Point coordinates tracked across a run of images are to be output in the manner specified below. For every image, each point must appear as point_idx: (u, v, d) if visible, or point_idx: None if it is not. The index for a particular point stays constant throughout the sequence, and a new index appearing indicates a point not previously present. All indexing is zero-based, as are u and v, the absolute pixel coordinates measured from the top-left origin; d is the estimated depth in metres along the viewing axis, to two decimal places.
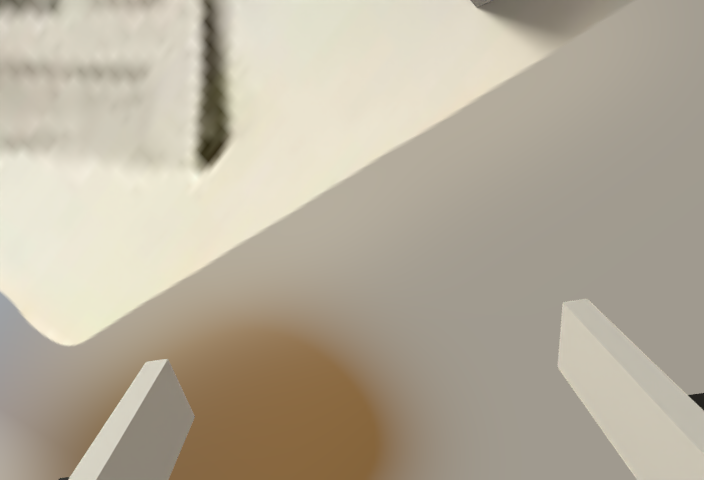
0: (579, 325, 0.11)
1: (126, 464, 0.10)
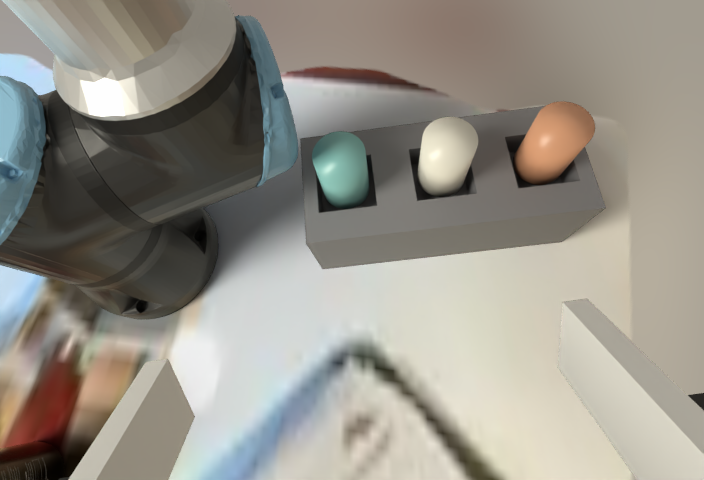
0: (578, 325, 0.11)
1: (126, 464, 0.10)
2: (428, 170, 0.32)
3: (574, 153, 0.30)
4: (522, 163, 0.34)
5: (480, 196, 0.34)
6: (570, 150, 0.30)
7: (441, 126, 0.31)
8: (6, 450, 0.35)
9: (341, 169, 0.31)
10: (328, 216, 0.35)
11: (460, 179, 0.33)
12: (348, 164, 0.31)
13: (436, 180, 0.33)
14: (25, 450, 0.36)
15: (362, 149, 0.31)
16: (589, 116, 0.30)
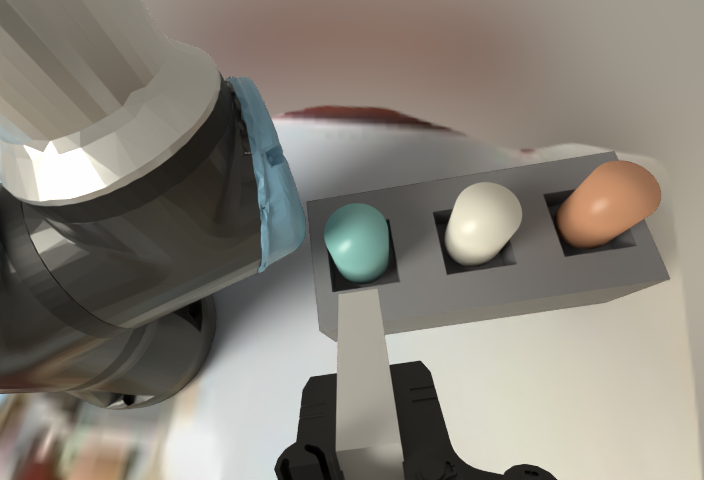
0: (359, 309, 0.14)
1: None
2: (461, 244, 0.27)
3: (636, 222, 0.26)
4: (568, 227, 0.29)
5: (521, 267, 0.29)
6: (634, 221, 0.25)
7: (476, 194, 0.26)
8: None
9: (360, 251, 0.26)
10: None
11: (498, 251, 0.28)
12: (368, 244, 0.26)
13: (470, 254, 0.28)
14: None
15: (384, 225, 0.26)
16: (652, 178, 0.26)
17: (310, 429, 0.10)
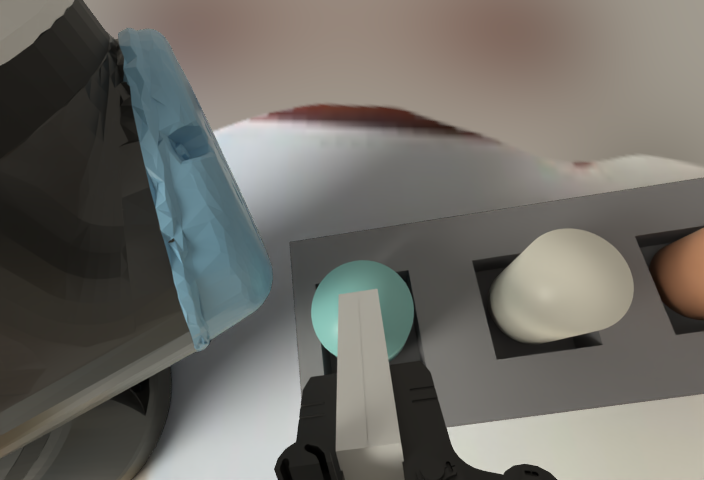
0: (359, 310, 0.14)
1: None
2: (527, 323, 0.18)
3: None
4: (682, 290, 0.19)
5: (609, 351, 0.20)
6: None
7: (555, 249, 0.16)
8: None
9: None
10: None
11: None
12: None
13: (538, 335, 0.18)
14: None
15: (407, 298, 0.16)
16: None
17: (310, 429, 0.10)
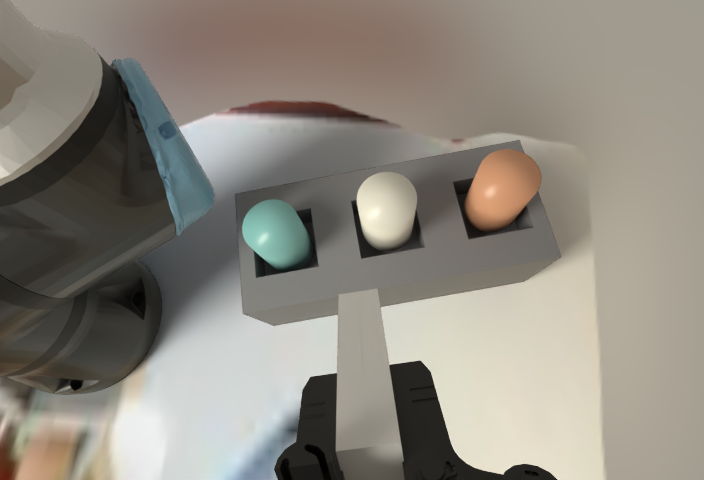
0: (359, 310, 0.14)
1: None
2: (368, 229, 0.30)
3: (521, 205, 0.28)
4: (471, 212, 0.32)
5: (428, 250, 0.32)
6: (516, 204, 0.27)
7: (377, 183, 0.29)
8: None
9: (273, 242, 0.29)
10: (266, 281, 0.32)
11: (404, 235, 0.31)
12: (280, 236, 0.29)
13: (378, 238, 0.30)
14: None
15: (295, 218, 0.29)
16: (535, 165, 0.28)
17: (310, 429, 0.10)
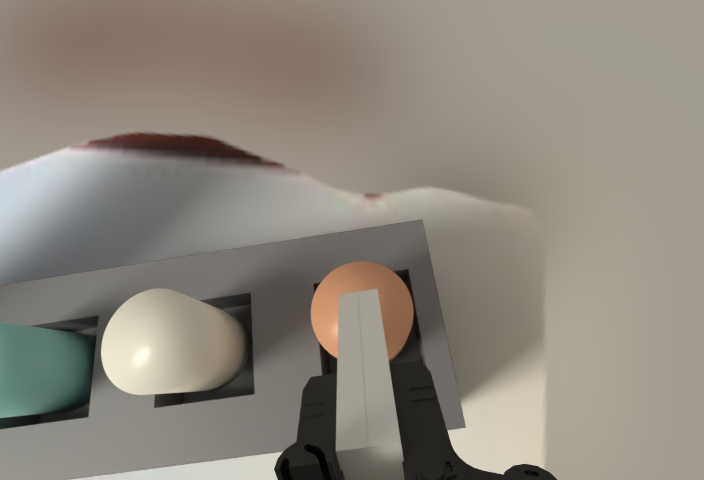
0: (359, 309, 0.14)
1: None
2: None
3: None
4: None
5: (258, 400, 0.20)
6: None
7: (142, 309, 0.17)
8: None
9: None
10: (6, 437, 0.20)
11: (210, 383, 0.19)
12: None
13: None
14: None
15: (15, 359, 0.18)
16: (406, 293, 0.17)
17: (310, 429, 0.10)
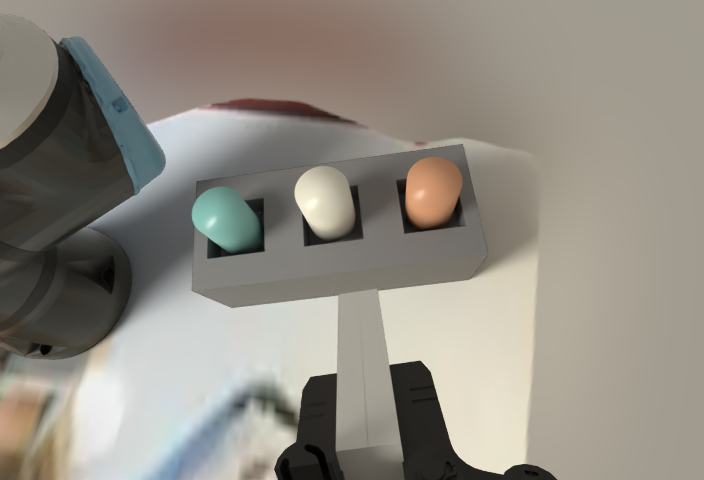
0: (359, 310, 0.14)
1: None
2: (306, 219, 0.32)
3: (444, 208, 0.31)
4: (407, 212, 0.35)
5: (366, 242, 0.34)
6: (438, 207, 0.30)
7: (315, 176, 0.31)
8: None
9: (218, 225, 0.32)
10: (216, 262, 0.35)
11: (342, 226, 0.33)
12: (225, 220, 0.32)
13: (317, 228, 0.33)
14: None
15: (240, 205, 0.32)
16: (458, 172, 0.31)
17: (310, 429, 0.10)
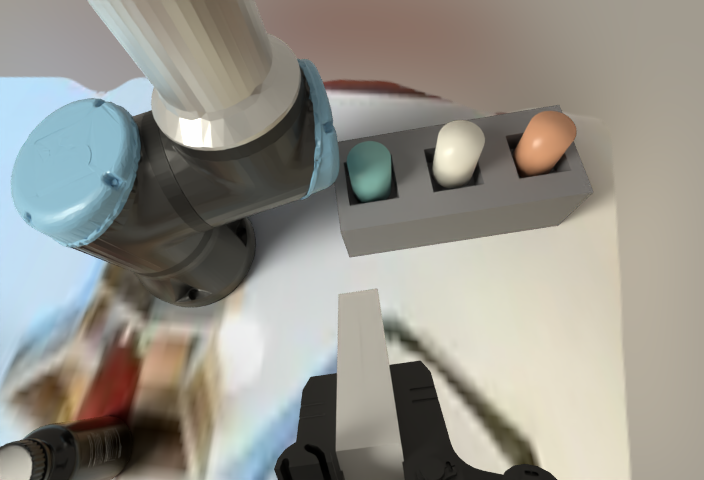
0: (359, 309, 0.14)
1: None
2: (443, 165, 0.38)
3: (560, 152, 0.38)
4: (519, 161, 0.41)
5: (487, 186, 0.40)
6: (557, 150, 0.37)
7: (453, 128, 0.37)
8: (86, 420, 0.40)
9: (372, 172, 0.38)
10: (358, 208, 0.41)
11: (470, 172, 0.39)
12: (377, 167, 0.38)
13: (450, 174, 0.39)
14: (101, 421, 0.41)
15: (388, 155, 0.38)
16: (571, 122, 0.37)
17: (310, 429, 0.10)
